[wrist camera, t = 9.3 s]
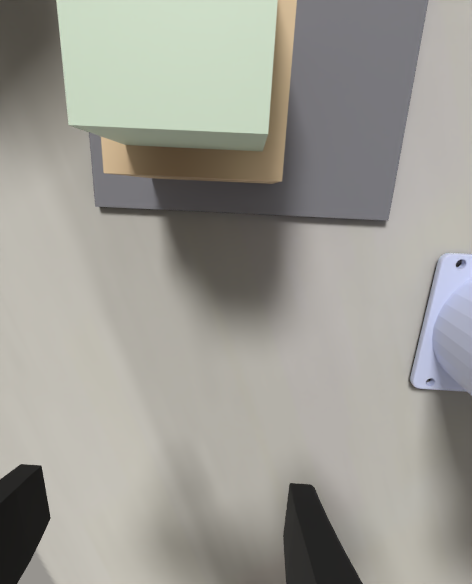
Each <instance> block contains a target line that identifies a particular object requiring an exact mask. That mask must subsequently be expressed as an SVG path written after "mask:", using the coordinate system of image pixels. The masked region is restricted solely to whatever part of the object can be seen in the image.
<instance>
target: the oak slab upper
mask: <svg viewBox="0 0 472 584" xmlns="http://www.w3.org/2000/svg"><path fill="white" fill-rule="evenodd" d="M296 5H297V0H278V2H277V16H276V31H275V45H274V59H273V73H272V87H271V101H270V115H269V129H268V136H267V139H266V142H265V146H264V149H263V151H242V150H221V149H200V148H178V147H157V146H136V145H124V144H121V143H118V142H115V141H113V140H110V139H107V138H104V137H101V144H102V158H103V171H104V173H107V174H116V175H125V176H137V177H159V178H181V179H203V180H225V181H247V182H269V183H277V182H281V181H282V175H283V163H284V151H285V139H286V126H287V114H288V102H289V90H290V78H291V66H292V54H293V41H294V29H295V17H296Z"/></svg>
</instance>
